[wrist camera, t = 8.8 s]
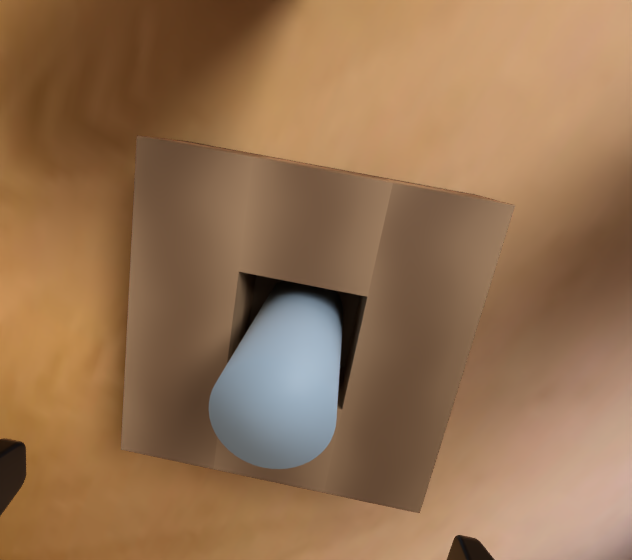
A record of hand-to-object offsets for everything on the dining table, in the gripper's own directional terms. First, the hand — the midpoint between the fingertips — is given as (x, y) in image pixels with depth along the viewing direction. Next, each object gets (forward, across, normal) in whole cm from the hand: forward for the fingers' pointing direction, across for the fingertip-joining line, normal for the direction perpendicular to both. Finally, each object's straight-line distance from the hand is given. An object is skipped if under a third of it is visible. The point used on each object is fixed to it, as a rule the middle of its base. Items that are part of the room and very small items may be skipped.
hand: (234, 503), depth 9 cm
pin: (+11, 0, 0) cm, 11 cm away
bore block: (+12, 0, 0) cm, 12 cm away
